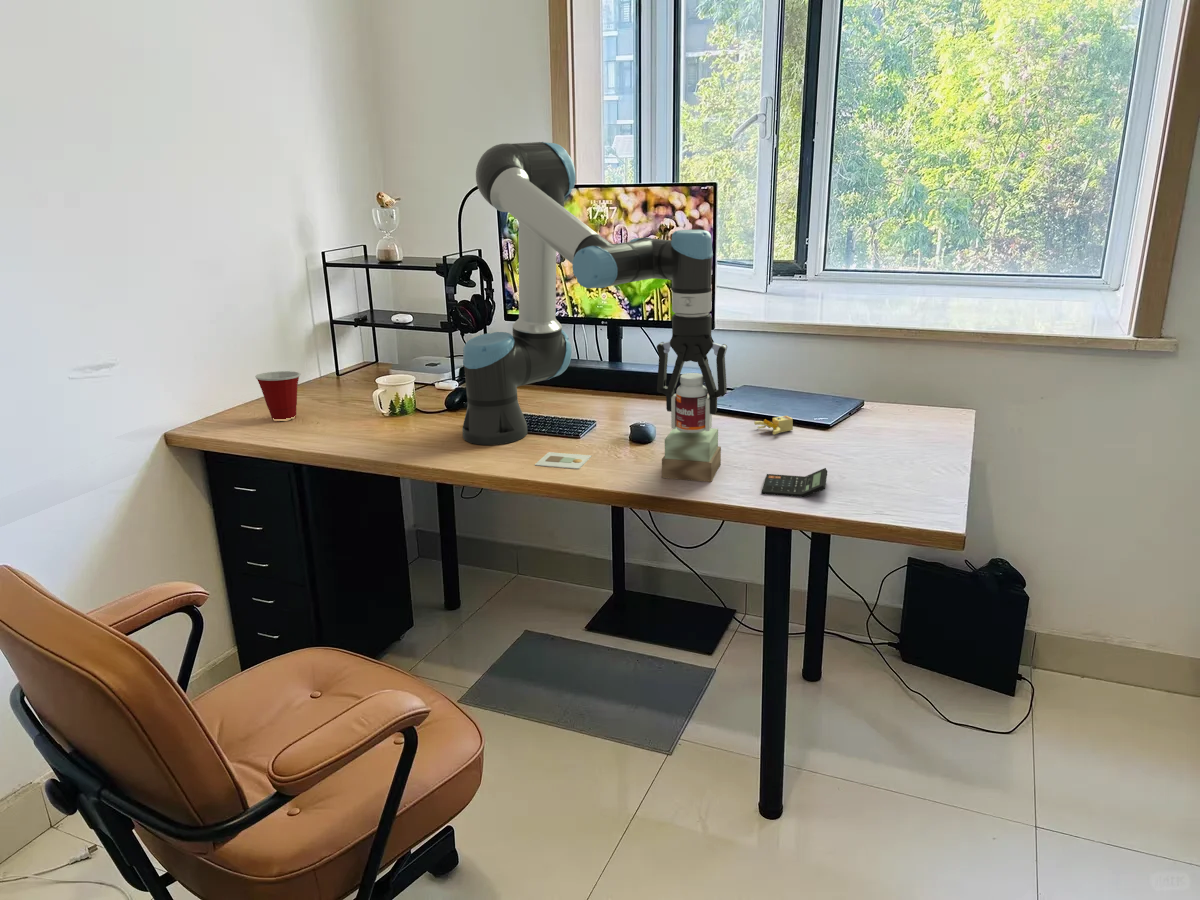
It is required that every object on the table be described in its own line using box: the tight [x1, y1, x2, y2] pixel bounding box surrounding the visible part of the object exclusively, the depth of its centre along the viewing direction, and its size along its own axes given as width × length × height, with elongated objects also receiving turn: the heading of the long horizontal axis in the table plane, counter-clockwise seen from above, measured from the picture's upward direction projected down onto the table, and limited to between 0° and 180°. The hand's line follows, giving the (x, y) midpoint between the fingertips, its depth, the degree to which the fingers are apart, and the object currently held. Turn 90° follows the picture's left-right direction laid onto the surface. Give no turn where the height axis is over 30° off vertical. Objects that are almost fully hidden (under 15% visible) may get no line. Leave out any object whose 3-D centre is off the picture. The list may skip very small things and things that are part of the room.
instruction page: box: [534, 451, 592, 470], centre depth 183 cm, size 10×8×1 cm
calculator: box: [761, 467, 828, 498], centre depth 164 cm, size 9×12×3 cm
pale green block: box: [661, 427, 722, 483], centre depth 173 cm, size 10×10×8 cm
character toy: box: [753, 415, 794, 435], centre depth 196 cm, size 8×3×8 cm
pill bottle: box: [675, 372, 708, 433], centre depth 170 cm, size 6×6×11 cm
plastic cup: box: [255, 370, 301, 419], centre depth 218 cm, size 11×11×12 cm
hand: (691, 427), depth 171 cm, fingers closed on pill bottle, 6 cm apart
